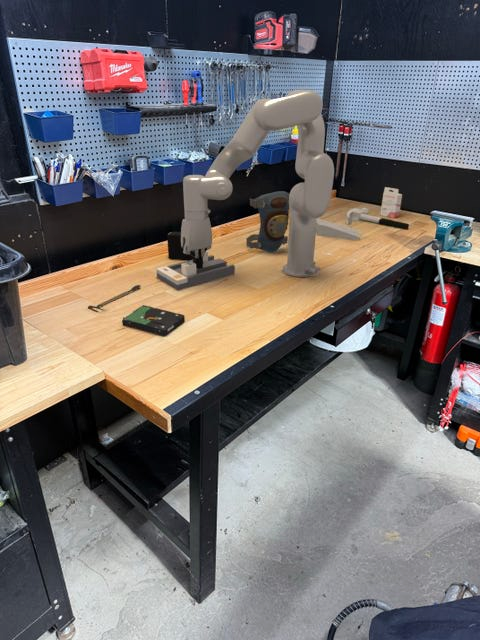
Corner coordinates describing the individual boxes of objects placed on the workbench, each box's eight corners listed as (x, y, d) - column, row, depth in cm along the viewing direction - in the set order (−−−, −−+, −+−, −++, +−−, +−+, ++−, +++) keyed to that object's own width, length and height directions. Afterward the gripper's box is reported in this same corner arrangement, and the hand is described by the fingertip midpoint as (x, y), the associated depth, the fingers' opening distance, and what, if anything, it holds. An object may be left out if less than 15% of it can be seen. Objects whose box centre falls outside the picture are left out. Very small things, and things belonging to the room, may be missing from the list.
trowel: (370, 237, 207) (372, 226, 205) (351, 245, 197) (352, 233, 195) (320, 225, 225) (321, 214, 223) (300, 231, 215) (301, 220, 213)
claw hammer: (416, 217, 223) (360, 205, 240) (397, 227, 208) (340, 213, 225) (413, 228, 226) (359, 215, 243) (395, 238, 211) (338, 224, 227)
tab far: (208, 264, 167) (207, 250, 165) (199, 266, 165) (198, 252, 163) (203, 262, 170) (203, 248, 167) (194, 264, 167) (194, 250, 165)
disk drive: (185, 323, 132) (143, 312, 138) (185, 314, 131) (142, 304, 136) (165, 339, 124) (121, 326, 129) (164, 330, 122) (120, 318, 128)
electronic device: (193, 261, 177) (192, 236, 172) (168, 259, 178) (166, 234, 174) (196, 257, 180) (195, 233, 176) (172, 255, 182) (170, 231, 177)
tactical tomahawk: (101, 317, 136) (101, 314, 135) (86, 309, 139) (86, 306, 138) (151, 293, 151) (151, 290, 150) (137, 286, 154) (137, 284, 153)
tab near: (196, 277, 156) (196, 262, 154) (186, 279, 154) (185, 265, 151) (191, 274, 158) (191, 260, 156) (181, 277, 156) (181, 262, 154)
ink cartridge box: (399, 216, 240) (404, 188, 233) (394, 218, 237) (398, 189, 230) (384, 213, 246) (389, 185, 239) (379, 215, 242) (384, 186, 236)
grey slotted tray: (234, 274, 165) (234, 265, 163) (177, 290, 151) (177, 280, 150) (212, 263, 174) (212, 254, 173) (156, 277, 161) (156, 268, 159)
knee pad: (258, 258, 180) (260, 194, 168) (238, 244, 196) (238, 185, 184) (298, 252, 186) (302, 190, 175) (275, 239, 202) (278, 181, 191)
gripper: (208, 209, 155) (210, 260, 164) (170, 216, 147) (174, 269, 156) (221, 213, 150) (222, 266, 159) (182, 220, 142) (185, 275, 150)
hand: (198, 267), depth 157 cm, fingers closed
